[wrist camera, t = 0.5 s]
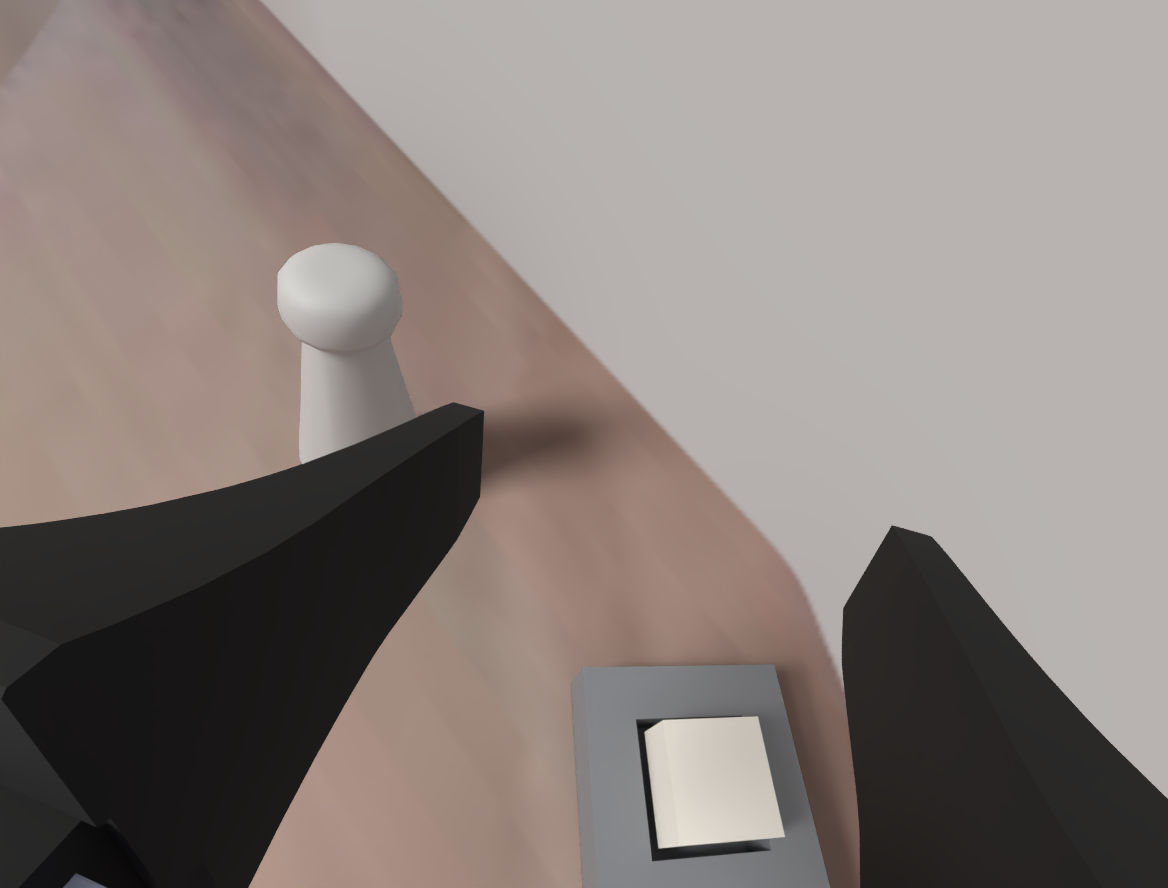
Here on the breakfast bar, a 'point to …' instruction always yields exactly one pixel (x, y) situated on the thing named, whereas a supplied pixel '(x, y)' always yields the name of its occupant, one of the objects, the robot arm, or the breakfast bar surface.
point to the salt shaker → (344, 345)
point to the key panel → (623, 790)
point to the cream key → (711, 782)
